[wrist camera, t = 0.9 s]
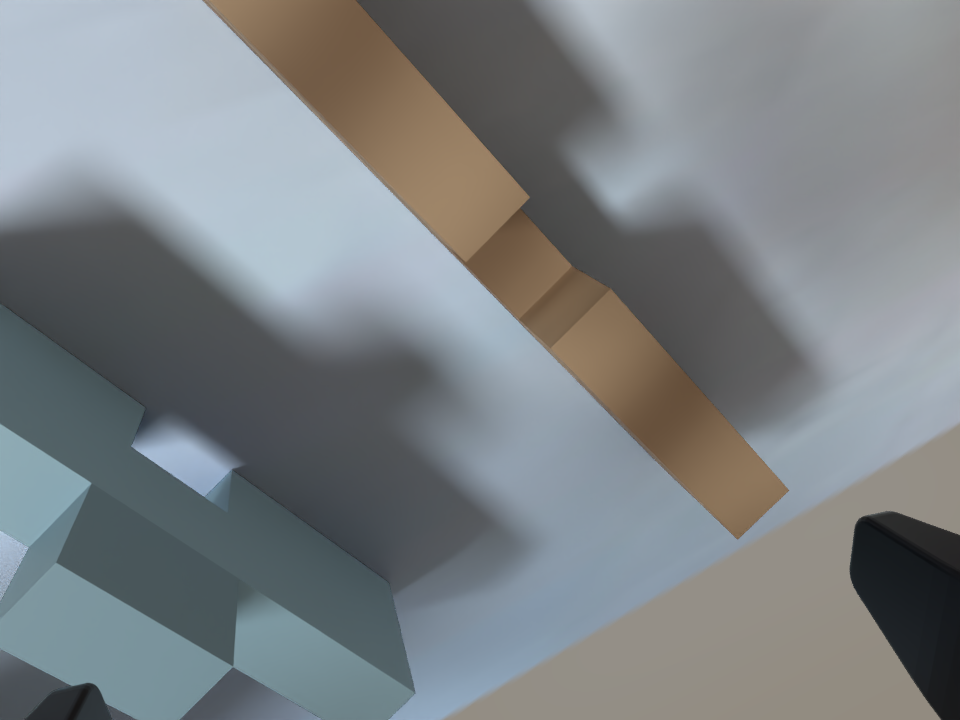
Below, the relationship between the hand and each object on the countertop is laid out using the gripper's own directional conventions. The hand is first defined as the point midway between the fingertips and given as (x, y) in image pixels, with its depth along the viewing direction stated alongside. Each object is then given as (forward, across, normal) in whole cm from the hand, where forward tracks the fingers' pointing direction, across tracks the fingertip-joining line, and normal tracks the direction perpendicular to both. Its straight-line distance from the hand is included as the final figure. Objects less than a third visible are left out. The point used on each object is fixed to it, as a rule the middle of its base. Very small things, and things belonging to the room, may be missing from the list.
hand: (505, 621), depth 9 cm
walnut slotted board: (+14, -3, -1) cm, 15 cm away
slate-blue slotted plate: (+14, +7, +4) cm, 16 cm away
